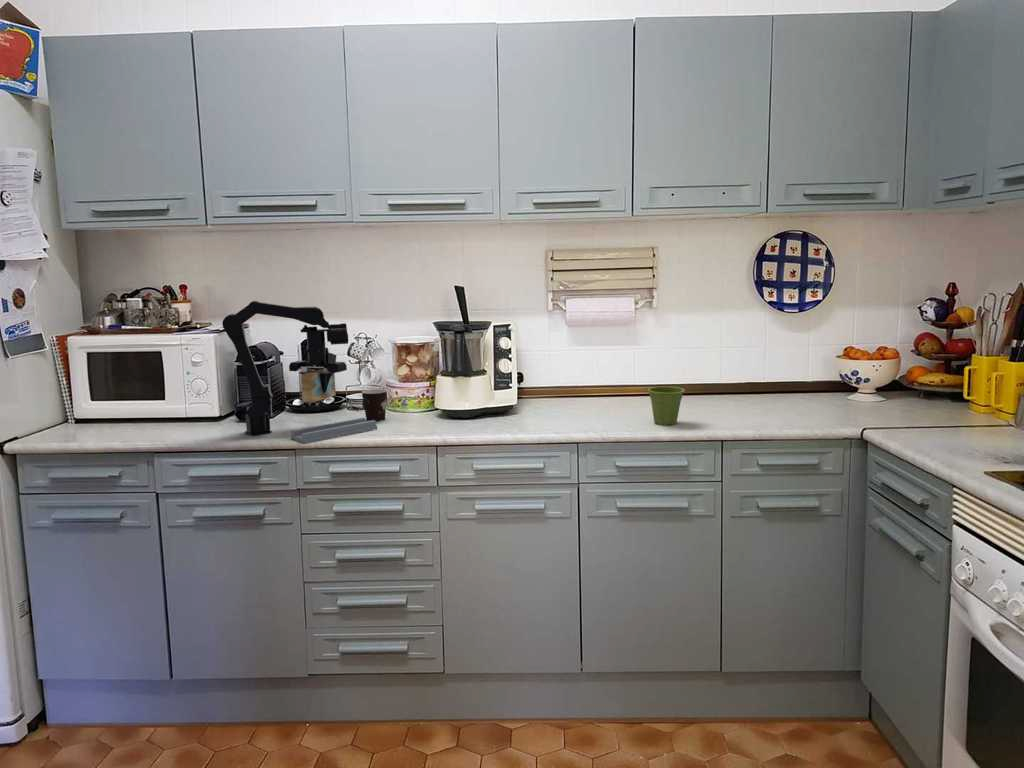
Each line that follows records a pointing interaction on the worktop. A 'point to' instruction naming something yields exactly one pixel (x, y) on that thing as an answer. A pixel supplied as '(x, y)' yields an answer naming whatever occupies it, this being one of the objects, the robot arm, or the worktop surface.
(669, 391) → the plant pot
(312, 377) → the tan rectangular block
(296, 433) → the rail
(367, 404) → the coffee mug
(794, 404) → the worktop surface
